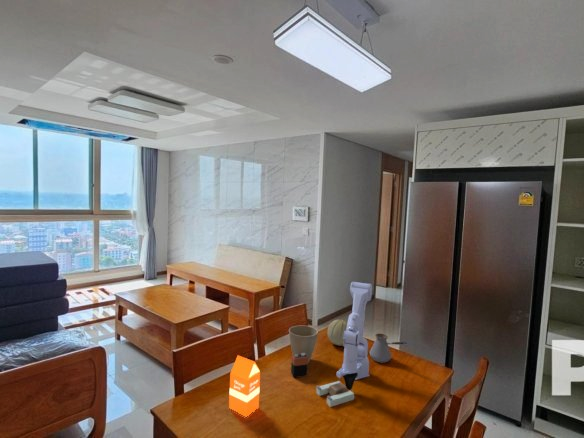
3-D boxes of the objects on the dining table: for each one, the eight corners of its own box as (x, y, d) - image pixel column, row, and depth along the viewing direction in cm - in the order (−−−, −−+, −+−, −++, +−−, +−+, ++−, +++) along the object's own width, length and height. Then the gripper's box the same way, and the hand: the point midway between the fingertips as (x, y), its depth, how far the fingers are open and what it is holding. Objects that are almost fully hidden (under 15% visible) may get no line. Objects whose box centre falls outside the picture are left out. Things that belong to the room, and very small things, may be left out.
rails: (338, 386, 141) (339, 379, 141) (353, 399, 132) (354, 392, 132) (316, 392, 135) (316, 385, 135) (330, 406, 126) (330, 399, 126)
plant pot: (322, 361, 163) (323, 330, 163) (304, 371, 152) (305, 339, 152) (300, 351, 173) (301, 322, 173) (281, 360, 162) (282, 330, 161)
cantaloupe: (326, 348, 178) (327, 322, 177) (327, 338, 192) (328, 314, 192) (352, 351, 176) (354, 325, 175) (352, 341, 190) (353, 316, 189)
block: (339, 391, 137) (340, 382, 137) (346, 396, 134) (346, 387, 134) (329, 395, 134) (329, 385, 134) (335, 400, 131) (335, 390, 131)
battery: (307, 376, 148) (308, 355, 148) (293, 378, 146) (294, 356, 146) (304, 371, 152) (305, 351, 152) (290, 373, 150) (291, 352, 150)
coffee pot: (364, 357, 170) (366, 329, 169) (378, 352, 176) (380, 326, 176) (397, 375, 152) (399, 345, 152) (412, 369, 159) (414, 340, 158)
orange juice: (246, 418, 117) (248, 365, 116) (228, 409, 122) (230, 358, 121) (259, 407, 124) (261, 357, 123) (241, 399, 128) (243, 351, 127)
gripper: (354, 350, 144) (352, 379, 144) (331, 358, 135) (330, 389, 136) (366, 356, 138) (365, 386, 139) (344, 365, 129) (342, 397, 130)
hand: (348, 388), depth 137 cm, fingers closed
